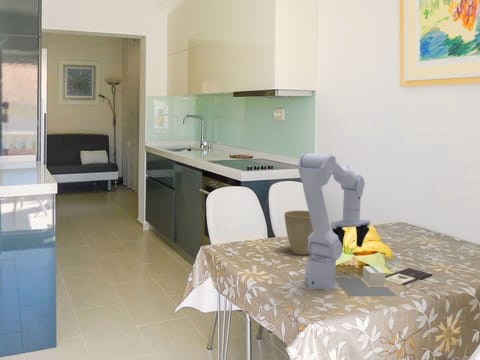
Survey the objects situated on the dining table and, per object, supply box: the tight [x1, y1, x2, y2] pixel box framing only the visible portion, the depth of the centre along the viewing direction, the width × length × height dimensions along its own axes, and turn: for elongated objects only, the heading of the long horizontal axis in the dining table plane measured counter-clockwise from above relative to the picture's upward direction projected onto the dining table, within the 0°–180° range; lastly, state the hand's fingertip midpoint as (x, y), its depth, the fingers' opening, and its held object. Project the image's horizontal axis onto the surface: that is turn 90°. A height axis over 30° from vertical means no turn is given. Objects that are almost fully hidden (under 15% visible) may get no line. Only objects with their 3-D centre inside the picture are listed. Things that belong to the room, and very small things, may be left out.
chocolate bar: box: [385, 267, 433, 286], centre depth 169 cm, size 9×1×18 cm
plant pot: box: [283, 210, 313, 256], centre depth 197 cm, size 15×15×16 cm
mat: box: [335, 277, 397, 298], centre depth 158 cm, size 15×17×1 cm
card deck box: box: [362, 265, 387, 286], centre depth 161 cm, size 7×5×5 cm
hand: (349, 247), depth 171 cm, fingers open, 7 cm apart
